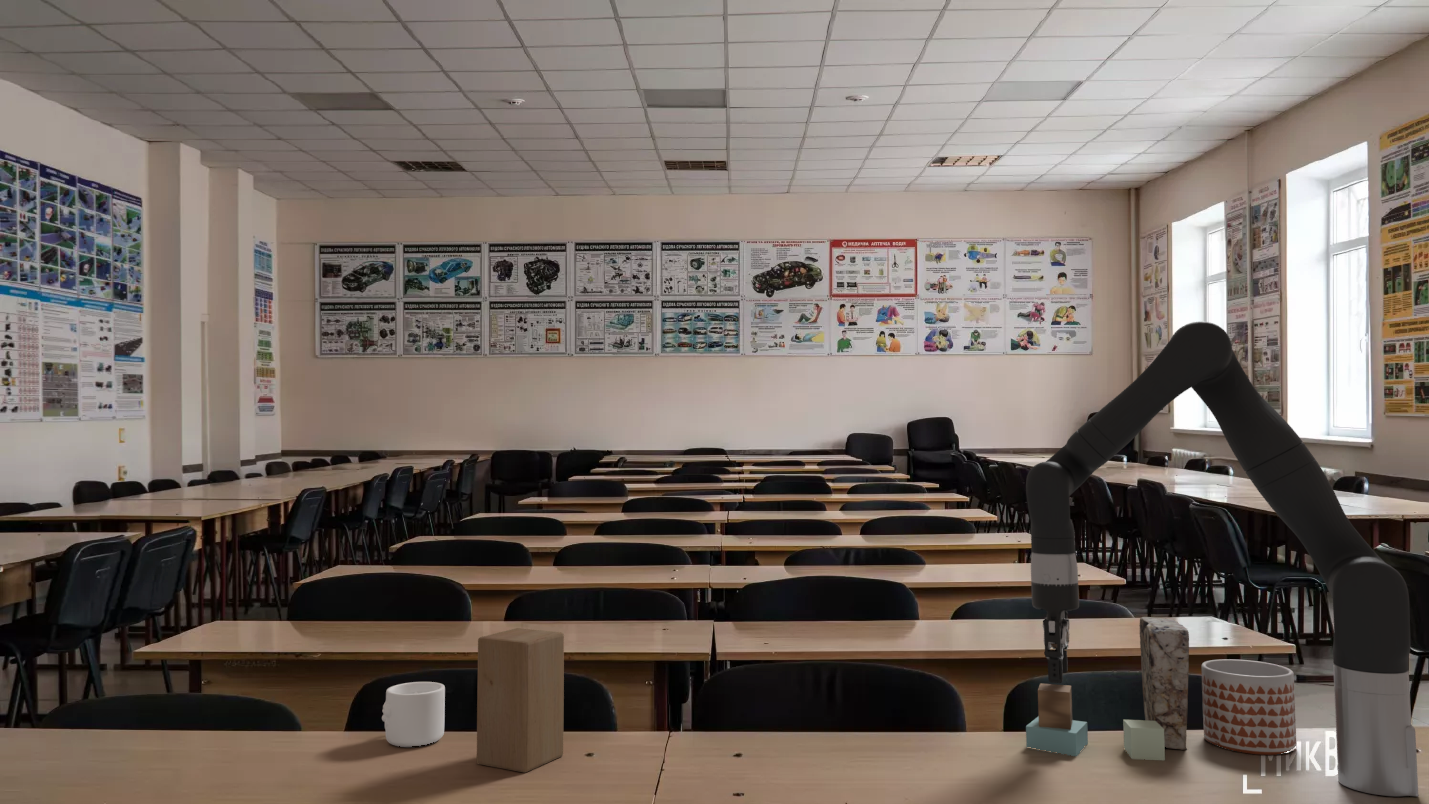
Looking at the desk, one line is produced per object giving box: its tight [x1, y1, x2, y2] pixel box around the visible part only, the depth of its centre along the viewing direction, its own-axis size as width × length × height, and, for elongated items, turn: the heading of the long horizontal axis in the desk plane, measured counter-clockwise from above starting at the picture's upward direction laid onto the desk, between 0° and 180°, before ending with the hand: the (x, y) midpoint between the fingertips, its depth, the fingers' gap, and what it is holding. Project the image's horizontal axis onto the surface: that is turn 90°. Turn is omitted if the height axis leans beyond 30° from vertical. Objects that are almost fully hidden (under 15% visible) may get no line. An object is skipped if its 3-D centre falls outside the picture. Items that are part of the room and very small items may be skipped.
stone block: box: [1139, 616, 1190, 751], centre depth 166 cm, size 13×7×20 cm, turn 171°
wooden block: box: [476, 627, 565, 774], centre depth 156 cm, size 10×10×20 cm
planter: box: [1201, 658, 1297, 756], centre depth 163 cm, size 14×14×13 cm
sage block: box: [1122, 719, 1166, 761], centre depth 157 cm, size 5×5×5 cm
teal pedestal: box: [1025, 715, 1089, 757], centre depth 162 cm, size 8×8×4 cm
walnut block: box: [1037, 683, 1073, 729], centre depth 162 cm, size 5×5×6 cm
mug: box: [381, 681, 446, 748], centre depth 167 cm, size 12×10×9 cm
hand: (1058, 677), depth 162 cm, fingers open, 8 cm apart
